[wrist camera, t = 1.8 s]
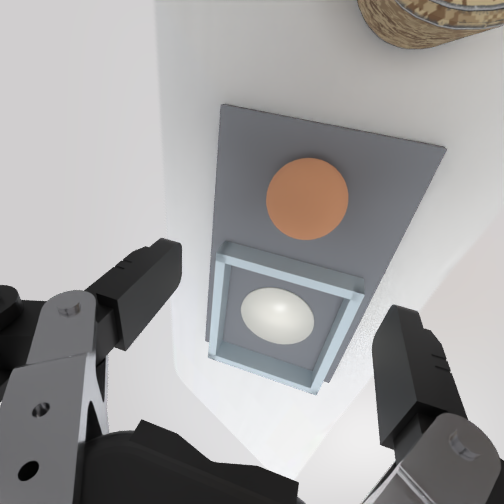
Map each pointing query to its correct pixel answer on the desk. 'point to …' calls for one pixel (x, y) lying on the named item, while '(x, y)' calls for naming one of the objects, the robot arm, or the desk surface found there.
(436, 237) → the desk surface
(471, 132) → the desk surface
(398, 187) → the mat
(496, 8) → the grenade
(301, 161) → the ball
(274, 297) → the square tray
